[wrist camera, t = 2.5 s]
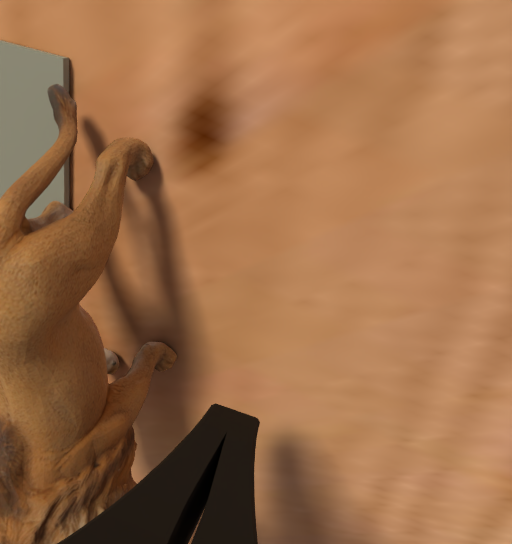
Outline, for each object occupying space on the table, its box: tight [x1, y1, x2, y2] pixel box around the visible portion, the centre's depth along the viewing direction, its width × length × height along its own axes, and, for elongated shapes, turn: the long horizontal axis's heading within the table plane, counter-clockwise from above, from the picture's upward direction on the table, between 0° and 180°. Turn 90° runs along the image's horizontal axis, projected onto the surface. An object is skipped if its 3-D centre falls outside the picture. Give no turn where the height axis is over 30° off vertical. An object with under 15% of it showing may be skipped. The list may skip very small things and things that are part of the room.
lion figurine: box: [0, 84, 177, 544], centre depth 13 cm, size 15×5×9 cm, turn 7°
